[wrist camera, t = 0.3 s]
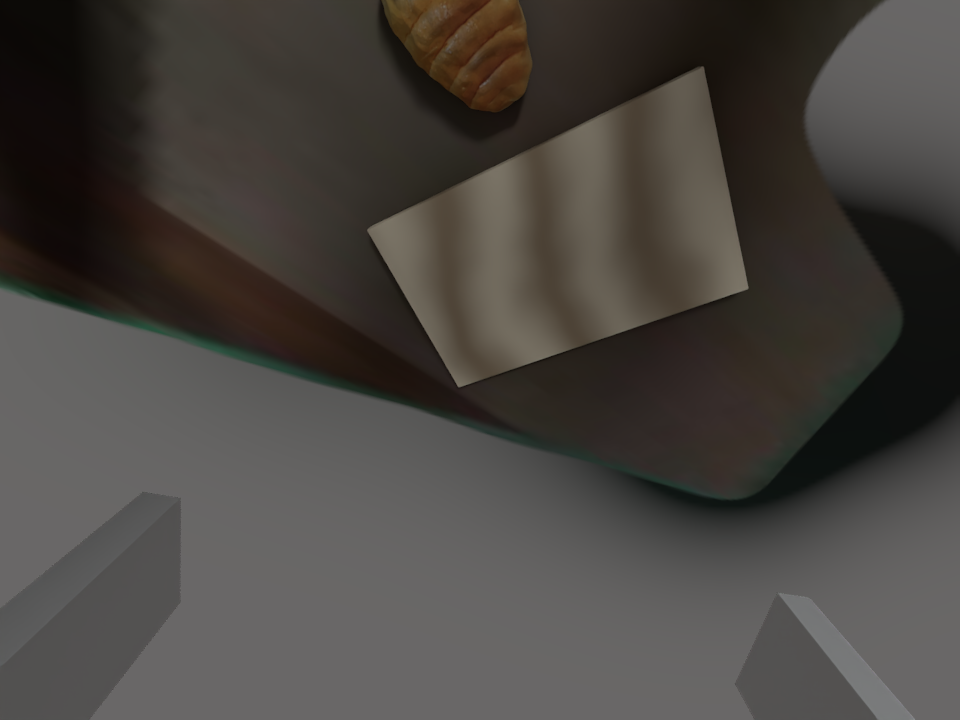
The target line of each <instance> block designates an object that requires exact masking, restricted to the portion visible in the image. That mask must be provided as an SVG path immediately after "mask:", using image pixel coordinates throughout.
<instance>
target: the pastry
mask: <svg viewBox="0 0 960 720" xmlns="http://www.w3.org/2000/svg"><path fill="white" fill-rule="evenodd" d="M381 1H382V3H383V6H384V11H385V15H386V17H387V20H388V22H389V25H390V27H391V29H392V30H393V32H394V34H395V35H396V36H397V37H398V38H399V39H400V40H401V42H402V43H403V44H404V45H405V47H406V49H407V50H408V51H409V52H410V54H411V55H412V57H413V59H414V61H415V62H416V64H417V65H418V66H419V67H421V68H422V69H424V70H425V71H426V73H427V74H428V75H429V76H430V77H431V78H433V79H434V80H436V81H437V82H439V83H440V84H441V85H442V86H443V87H444V88H445V89H446V90H448V91H450V92H451V93H453V94H454V95H455V96H457V97H458V98H460V99H461V100H462V101H463V102H464V103H466V104H467V105H468V107H470V108H471V109H475V110H480V111H491V112H493V113H495V112H499V111H502V110H503V109H505V108H507V107H508V106H510V105H511V104H512V103H513V102H515V101H516V100H518V99H519V98H521V97H522V96H523V95H524V93H525V91H526V88H527V84H528V81H529V76H530V73H531V69H532V59H531V55H530V50H529V47H528V42H527V26H526V21H525V18H524V14H523V11H522V8H521V6H520V4H519V0H381Z"/></svg>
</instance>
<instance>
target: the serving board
mask: <svg viewBox="0 0 960 720" xmlns="http://www.w3.org/2000/svg"><path fill="white" fill-rule="evenodd" d="M367 231H368V233H369V235H370V236H371V238H372V240H373V241H374V243H375V245H376V247H377V248H378V250H379V252H380V253H381V255H382V257H383V259H384V260H385V262H386V264H387V265H388V267H389V269H390V271H391V272H392V274H393V276H394V277H395V279H396V281H397V283H398V284H399V286H400V288H401V289H402V291H403V293H404V295H405V296H406V298H407V300H408V302H409V303H410V305H411V307H412V308H413V310H414V312H415V314H416V315H417V317H418V319H419V320H420V322H421V324H422V326H423V327H424V329H425V331H426V332H427V334H428V336H429V338H430V339H431V341H432V343H433V344H434V346H435V348H436V350H437V351H438V353H439V355H440V356H441V358H442V360H443V362H444V363H445V365H446V367H447V368H448V370H449V372H450V374H451V375H452V377H453V379H454V380H455V382H456V384H457V386H458V387H462V386H465V385H468V384H470V383H473V382H476V381H479V380H482V379H485V378H488V377H491V376H494V375H497V374H500V373H503V372H506V371H509V370H512V369H515V368H517V367H520V366H523V365H526V364H529V363H532V362H535V361H538V360H541V359H544V358H547V357H550V356H553V355H556V354H559V353H562V352H564V351H567V350H570V349H573V348H576V347H579V346H582V345H585V344H588V343H591V342H594V341H597V340H600V339H603V338H606V337H609V336H612V335H614V334H617V333H620V332H623V331H626V330H629V329H632V328H635V327H638V326H641V325H644V324H647V323H650V322H653V321H656V320H659V319H661V318H664V317H667V316H670V315H673V314H676V313H679V312H682V311H685V310H688V309H691V308H694V307H697V306H700V305H703V304H706V303H708V302H711V301H714V300H717V299H720V298H723V297H726V296H729V295H732V294H735V293H738V292H741V291H744V290H747V289H748V284H747V279H746V274H745V269H744V264H743V259H742V254H741V249H740V244H739V239H738V234H737V229H736V224H735V219H734V214H733V209H732V205H731V200H730V195H729V190H728V185H727V180H726V175H725V170H724V165H723V160H722V155H721V150H720V145H719V140H718V135H717V130H716V125H715V120H714V115H713V110H712V105H711V100H710V96H709V91H708V86H707V81H706V76H705V71H704V67H697V68H695V69H693V70H691V71H688V72H686V73H684V74H682V75H680V76H678V77H676V78H674V79H672V80H670V81H668V82H666V83H664V84H662V85H660V86H658V87H656V88H654V89H652V90H650V91H647V92H645V93H643V94H641V95H639V96H637V97H635V98H633V99H631V100H629V101H627V102H625V103H623V104H621V105H619V106H617V107H615V108H613V109H611V110H608V111H606V112H604V113H602V114H600V115H598V116H596V117H594V118H592V119H590V120H588V121H586V122H584V123H582V124H580V125H578V126H576V127H574V128H572V129H569V130H567V131H565V132H563V133H561V134H559V135H557V136H555V137H553V138H551V139H549V140H547V141H545V142H543V143H541V144H539V145H537V146H535V147H533V148H531V149H528V150H526V151H524V152H522V153H520V154H518V155H516V156H514V157H512V158H510V159H508V160H506V161H504V162H502V163H500V164H498V165H496V166H494V167H492V168H489V169H487V170H485V171H483V172H481V173H479V174H477V175H475V176H473V177H471V178H469V179H467V180H465V181H463V182H461V183H459V184H457V185H455V186H453V187H450V188H448V189H446V190H444V191H442V192H440V193H438V194H436V195H434V196H432V197H430V198H428V199H426V200H424V201H422V202H420V203H418V204H416V205H414V206H412V207H409V208H407V209H405V210H403V211H401V212H399V213H397V214H395V215H393V216H391V217H389V218H387V219H385V220H383V221H381V222H379V223H377V224H375V225H373V226H371V227H370V228H369V229H368V230H367Z"/></svg>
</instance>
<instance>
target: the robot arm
mask: <svg viewBox="0 0 960 720" xmlns="http://www.w3.org/2000/svg"><path fill="white" fill-rule="evenodd" d="M180 500H181V498H178V497H172V496H165V495H159V494H152V493H147V492H142V493H141V494H140V495H139V496H137V497H136V498H135V499H134V500H133V501H131V502H130V503H129V504H128V505H127V506H125V507H124V508H123V509H122V510H120V511H119V512H118V513H117V514H115V515H114V516H113V517H112V518H111V519H109V520H108V521H107V522H106V523H104V524H103V525H102V526H101V527H99V528H98V529H97V530H96V531H94V533H92V534H91V535H90V536H88V537H87V538H86V539H85V540H83V541H82V542H81V543H80V544H79V545H77V546H76V547H75V548H74V549H72V550H71V551H70V552H69V553H68V554H66V555H65V556H64V557H63V558H61V559H60V560H59V561H58V562H57V563H55V564H54V565H53V566H52V567H50V568H49V569H48V570H47V571H45V572H44V573H43V574H42V575H41V576H39V577H38V578H37V579H36V580H34V581H33V582H32V583H31V584H30V585H28V586H27V587H26V588H25V589H23V590H22V591H21V592H20V593H18V594H17V595H16V596H15V597H14V598H12V599H11V600H10V601H9V602H8V603H6V604H5V605H4V606H3V607H1V608H0V720H89V719H90V718H91V717H92V716H93V714H94V713H95V712H96V710H97V709H98V708H99V706H100V705H101V704H102V703H103V701H104V700H105V699H106V698H107V696H108V695H109V694H110V692H111V691H112V690H113V688H114V687H115V686H116V685H117V683H118V682H119V681H120V679H121V678H122V677H123V676H124V674H125V673H126V672H127V670H128V669H129V668H130V667H131V665H132V664H133V663H134V661H135V660H136V659H137V658H138V656H139V655H140V654H141V652H142V651H143V650H144V649H145V647H146V646H147V645H148V643H149V642H150V641H151V640H152V638H153V637H154V636H155V634H156V633H157V632H158V630H159V629H160V628H161V627H162V625H163V624H164V623H165V622H166V620H167V619H168V618H169V616H170V615H171V614H172V613H173V611H174V610H175V609H176V607H177V606H178V605H179V603H180V535H181V532H180V531H181V530H180V529H181V528H180V527H181V526H180V525H181V519H180V518H181V509H180V508H181V507H180V506H181V505H180V504H181V501H180ZM735 685H736V687H737V688H738V690H739V692H740V694H741V696H742V697H743V699H744V701H745V703H746V705H747V707H748V708H749V710H750V712H751V714H752V716H753V718H754V719H755V720H915V719H914V717H913V716H912V715H911V714H910V713H909V712H908V711H907V710H906V708H905V707H904V706H903V705H902V704H901V702H900V701H899V700H898V699H897V698H896V697H895V696H894V694H893V693H892V692H891V691H890V690H889V689H888V688H887V687H886V685H885V684H884V683H883V682H882V681H881V680H880V678H879V677H878V676H877V675H876V674H875V673H874V671H873V670H872V669H871V668H870V667H869V666H868V665H867V663H866V662H865V661H864V660H863V659H862V658H861V656H860V655H859V654H858V653H857V652H856V651H855V650H854V648H853V647H852V646H851V645H850V644H849V643H848V641H847V640H846V639H845V638H844V637H843V636H842V635H841V633H840V632H839V631H838V630H837V629H836V628H835V627H834V625H833V624H832V623H831V622H830V621H829V620H828V618H827V617H826V616H825V615H824V614H823V613H822V612H821V610H820V609H819V608H818V607H817V606H816V605H815V603H814V602H813V601H812V600H811V599H810V598H808V597H802V596H795V595H789V594H783V593H777V594H776V597H775V599H774V601H773V603H772V605H771V607H770V610H769V612H768V614H767V616H766V618H765V620H764V622H763V625H762V627H761V629H760V631H759V633H758V635H757V638H756V640H755V642H754V644H753V646H752V648H751V650H750V653H749V655H748V657H747V659H746V661H745V663H744V666H743V668H742V670H741V672H740V674H739V676H738V678H737V681H736V683H735Z"/></svg>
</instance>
